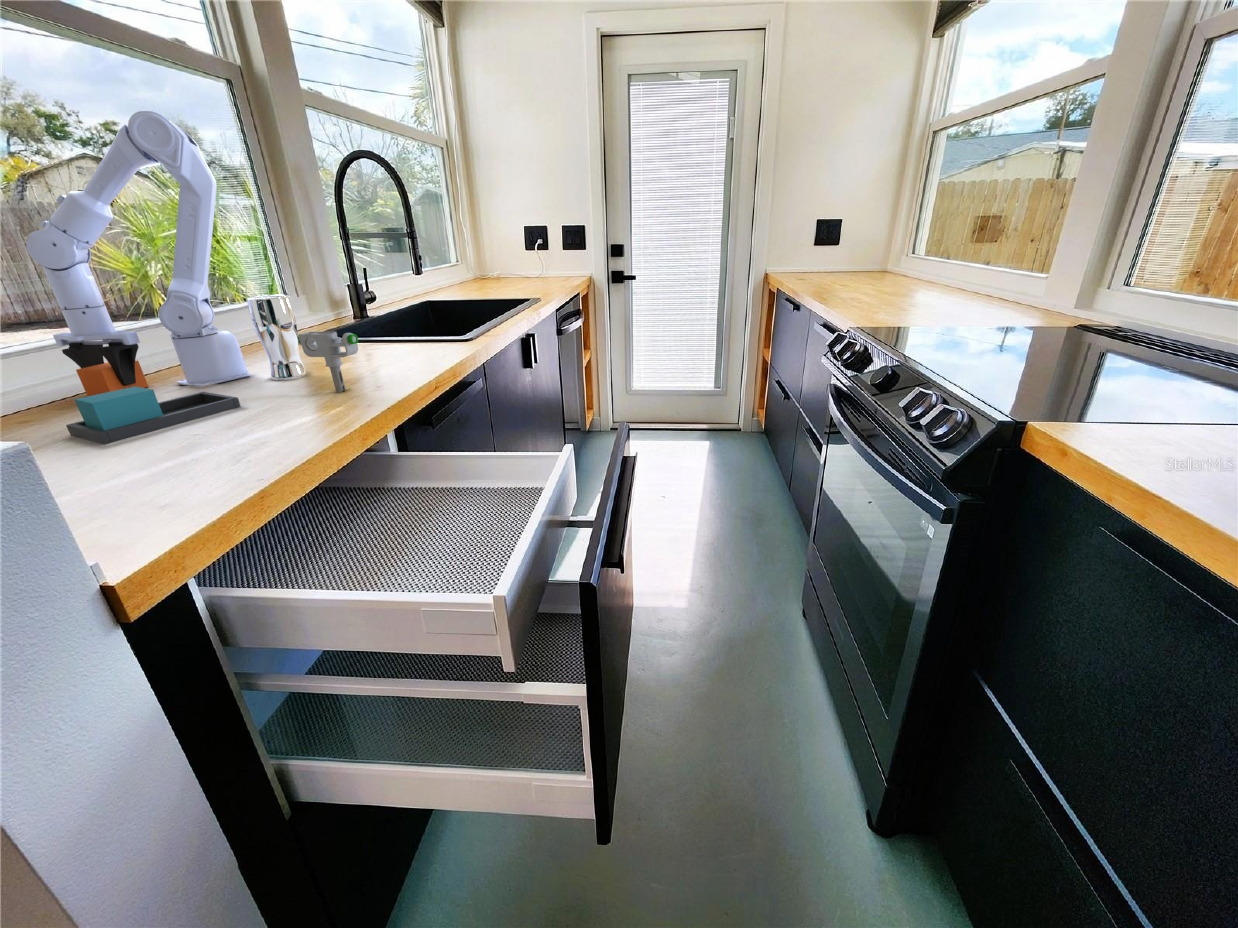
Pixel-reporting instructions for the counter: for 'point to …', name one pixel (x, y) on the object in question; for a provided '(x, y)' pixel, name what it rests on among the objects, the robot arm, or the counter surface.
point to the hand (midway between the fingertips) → (115, 384)
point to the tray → (160, 417)
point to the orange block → (107, 379)
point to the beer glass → (277, 335)
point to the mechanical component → (330, 351)
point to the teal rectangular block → (118, 408)
